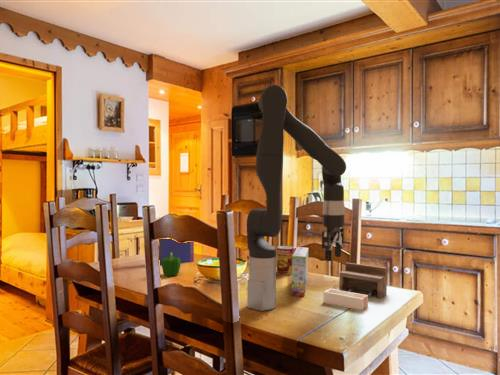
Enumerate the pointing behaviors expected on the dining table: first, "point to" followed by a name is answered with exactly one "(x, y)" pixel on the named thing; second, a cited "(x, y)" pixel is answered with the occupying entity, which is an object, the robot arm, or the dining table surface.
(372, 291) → the cubby
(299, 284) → the snack box
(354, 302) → the tray shell
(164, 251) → the cereal box
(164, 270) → the bell pepper
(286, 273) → the canned food
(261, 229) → the robot arm
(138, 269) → the dining table surface
